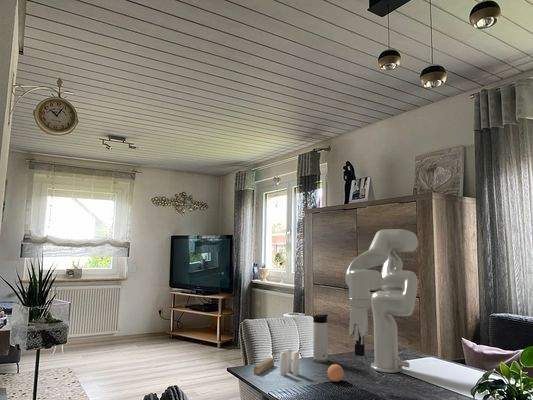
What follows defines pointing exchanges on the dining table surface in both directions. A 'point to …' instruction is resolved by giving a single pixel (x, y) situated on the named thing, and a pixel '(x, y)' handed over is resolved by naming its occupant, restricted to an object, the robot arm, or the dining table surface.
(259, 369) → the wooden bar
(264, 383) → the dining table surface
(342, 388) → the dining table surface
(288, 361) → the pin
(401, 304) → the robot arm
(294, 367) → the front pin
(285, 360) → the pin
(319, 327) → the travel mug
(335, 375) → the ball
